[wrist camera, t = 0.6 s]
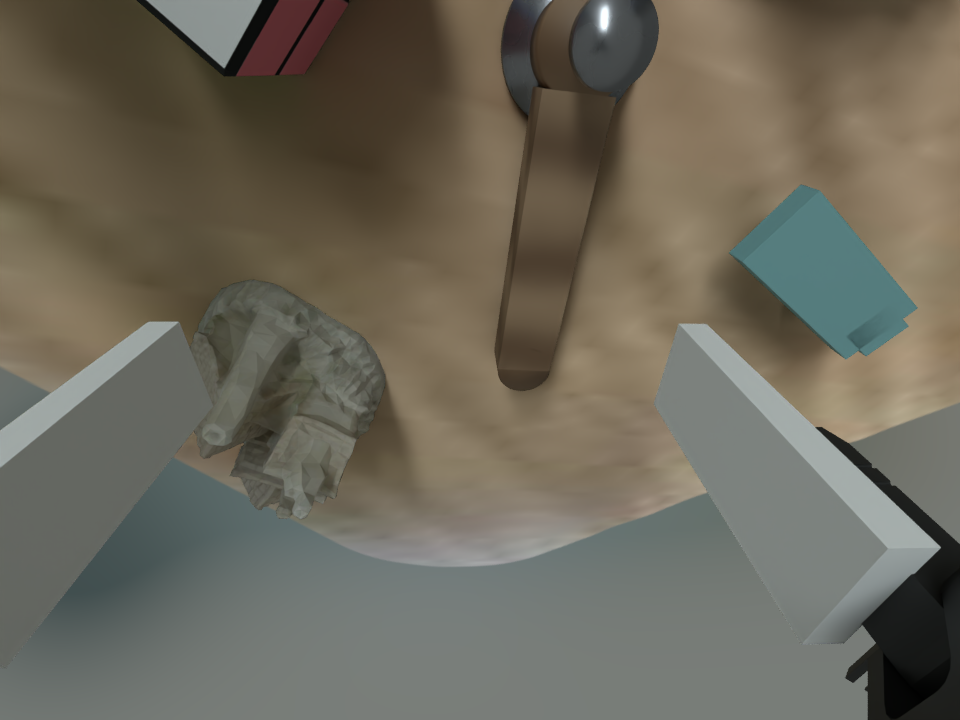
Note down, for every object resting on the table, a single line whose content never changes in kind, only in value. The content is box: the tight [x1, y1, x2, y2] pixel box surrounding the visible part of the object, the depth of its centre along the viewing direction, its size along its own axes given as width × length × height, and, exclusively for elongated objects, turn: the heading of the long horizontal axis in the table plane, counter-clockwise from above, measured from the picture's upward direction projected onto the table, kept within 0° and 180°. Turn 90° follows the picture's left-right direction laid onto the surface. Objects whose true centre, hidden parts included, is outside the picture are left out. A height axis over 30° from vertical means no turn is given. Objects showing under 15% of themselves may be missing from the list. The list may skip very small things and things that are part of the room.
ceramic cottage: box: [190, 280, 385, 519], centre depth 31 cm, size 16×16×15 cm
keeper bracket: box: [729, 185, 917, 359], centre depth 30 cm, size 14×5×6 cm, turn 54°
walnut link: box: [495, 0, 616, 391], centre depth 28 cm, size 24×5×3 cm, turn 174°
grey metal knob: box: [501, 0, 659, 116], centre depth 21 cm, size 8×8×8 cm
